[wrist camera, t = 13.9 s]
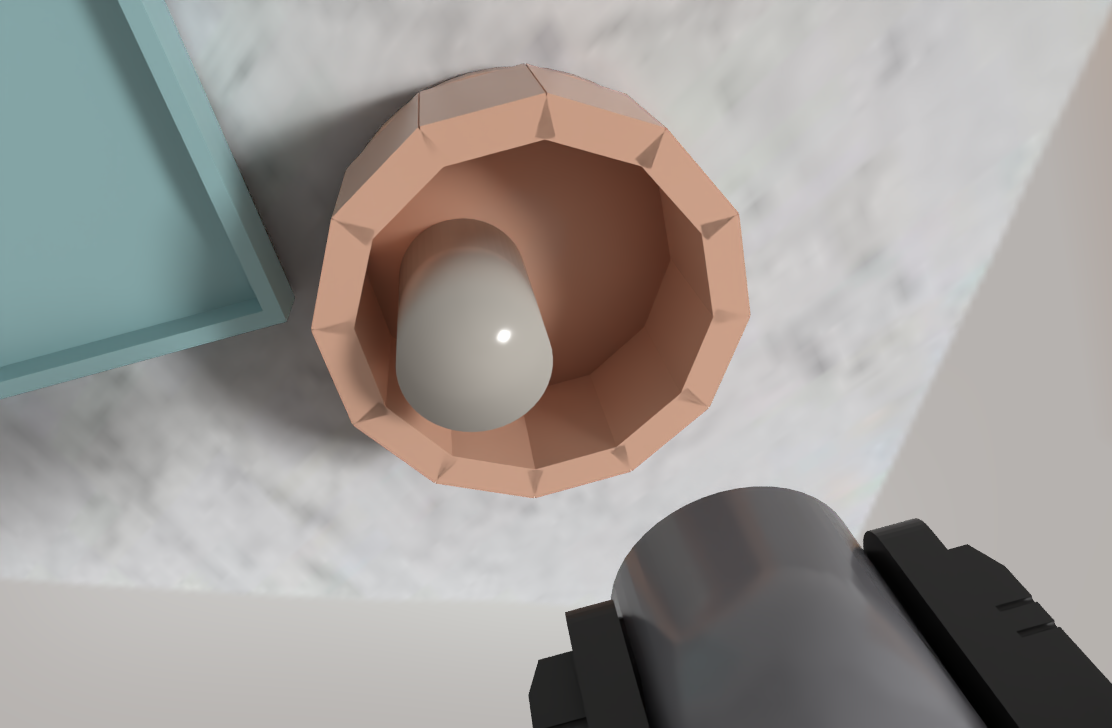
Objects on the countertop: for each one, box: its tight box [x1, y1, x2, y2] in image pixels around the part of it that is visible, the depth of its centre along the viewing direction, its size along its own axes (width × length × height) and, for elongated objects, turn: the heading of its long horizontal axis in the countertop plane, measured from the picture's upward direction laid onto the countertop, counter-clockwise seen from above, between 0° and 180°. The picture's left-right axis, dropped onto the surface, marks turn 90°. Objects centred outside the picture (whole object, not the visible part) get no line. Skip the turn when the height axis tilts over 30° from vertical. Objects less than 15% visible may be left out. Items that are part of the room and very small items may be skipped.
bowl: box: [311, 64, 750, 498], centre depth 23 cm, size 11×11×5 cm
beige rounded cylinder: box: [396, 218, 553, 432], centre depth 22 cm, size 4×4×6 cm
